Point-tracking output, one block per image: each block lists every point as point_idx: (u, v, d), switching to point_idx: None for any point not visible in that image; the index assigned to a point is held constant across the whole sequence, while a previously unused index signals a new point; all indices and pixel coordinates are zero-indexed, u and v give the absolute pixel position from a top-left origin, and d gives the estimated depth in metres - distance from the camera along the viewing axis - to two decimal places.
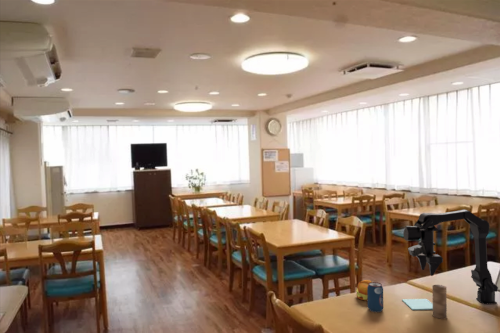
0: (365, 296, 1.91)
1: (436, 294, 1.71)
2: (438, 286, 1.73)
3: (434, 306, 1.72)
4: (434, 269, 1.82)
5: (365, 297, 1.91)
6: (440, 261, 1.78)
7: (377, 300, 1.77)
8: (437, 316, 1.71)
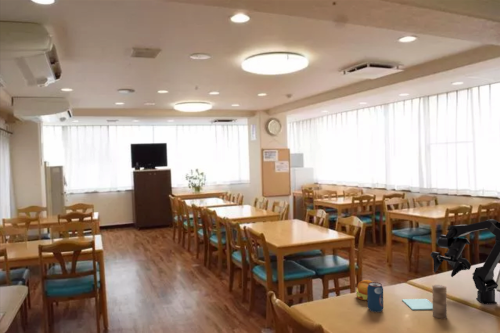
0: (365, 296, 1.91)
1: (436, 294, 1.71)
2: (438, 286, 1.73)
3: (434, 306, 1.72)
4: None
5: (365, 297, 1.91)
6: None
7: (377, 300, 1.77)
8: (437, 316, 1.71)
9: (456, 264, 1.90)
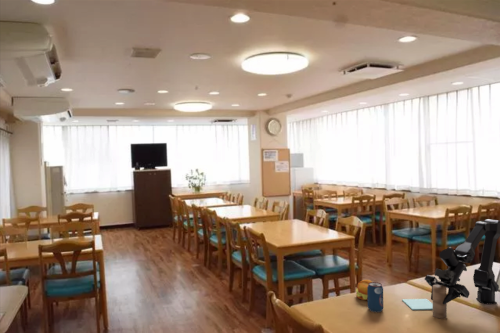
0: (365, 296, 1.91)
1: (436, 294, 1.71)
2: (438, 286, 1.73)
3: (434, 306, 1.72)
4: (449, 299, 1.70)
5: (365, 297, 1.92)
6: (467, 295, 1.67)
7: (377, 300, 1.77)
8: (437, 316, 1.71)
9: None
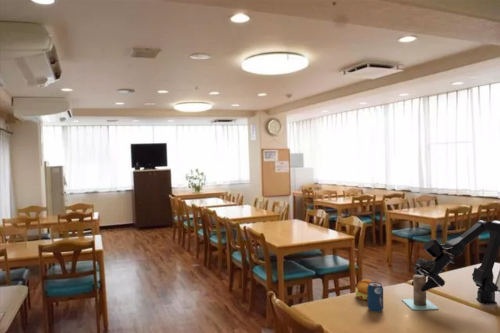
0: (365, 295, 1.92)
1: (414, 283, 1.85)
2: (419, 275, 1.86)
3: None
4: (428, 287, 1.80)
5: (365, 296, 1.92)
6: (441, 284, 1.76)
7: (377, 300, 1.77)
8: (415, 303, 1.85)
9: None
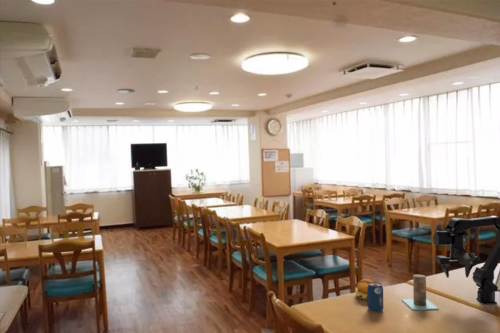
0: (364, 295, 1.92)
1: (414, 283, 1.85)
2: (419, 275, 1.86)
3: (413, 293, 1.86)
4: None
5: (364, 296, 1.92)
6: None
7: (377, 300, 1.77)
8: (415, 303, 1.85)
9: None
